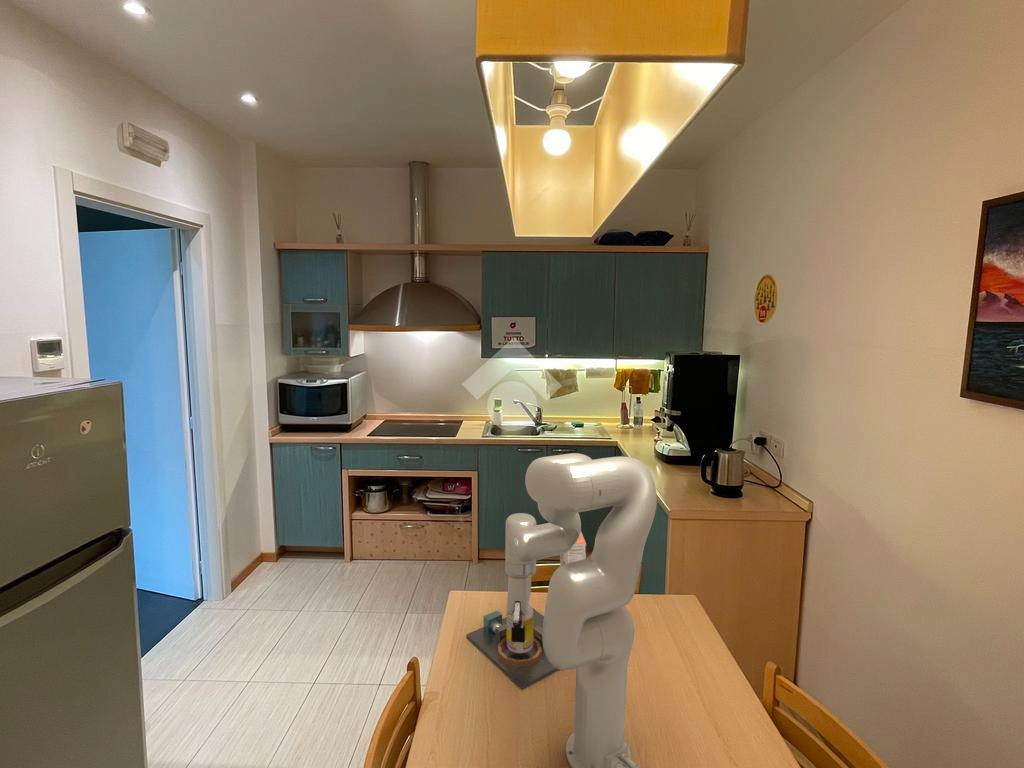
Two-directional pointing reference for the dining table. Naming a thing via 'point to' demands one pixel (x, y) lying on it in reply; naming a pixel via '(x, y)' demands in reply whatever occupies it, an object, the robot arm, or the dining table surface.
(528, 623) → the supplement bottle
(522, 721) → the dining table surface
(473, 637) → the base
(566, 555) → the cracker box
